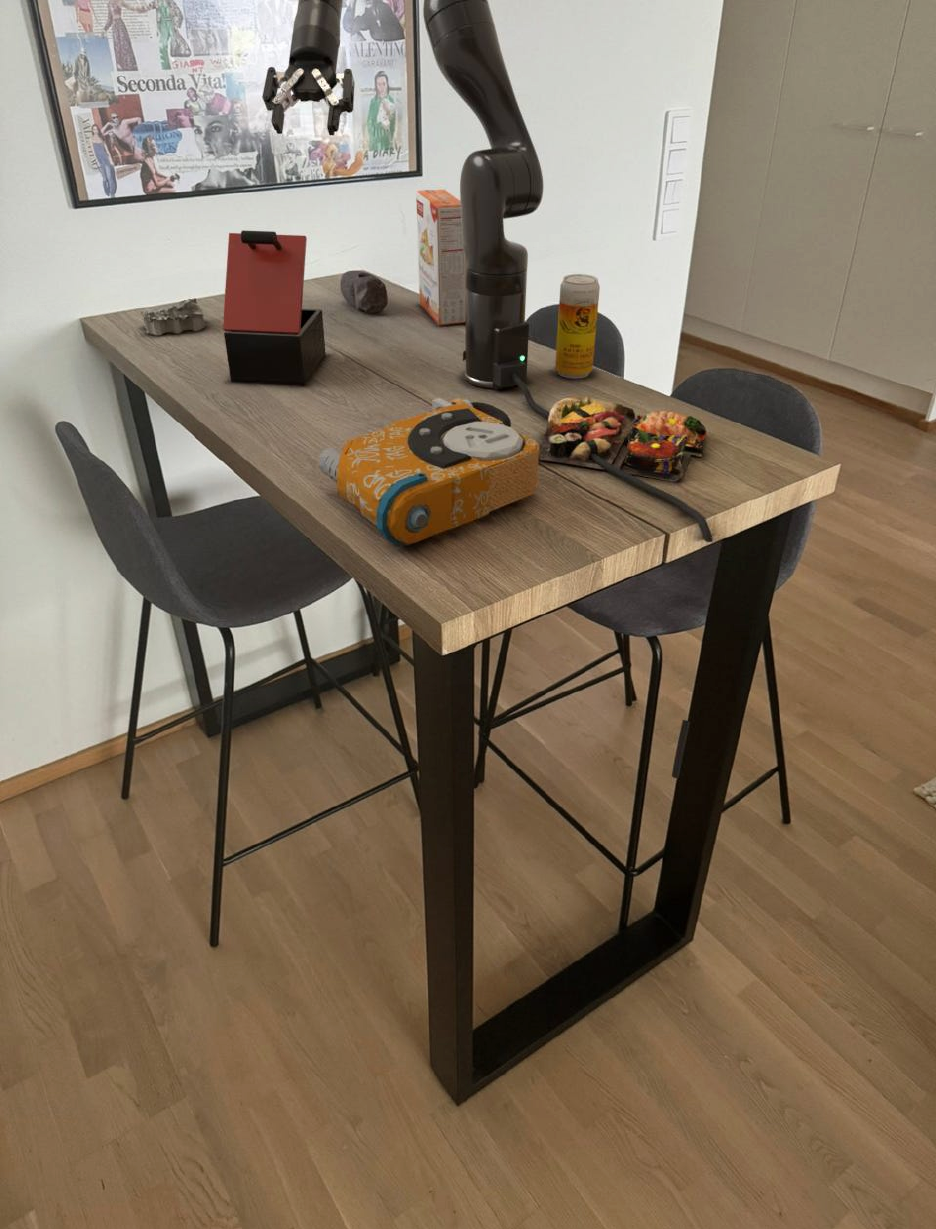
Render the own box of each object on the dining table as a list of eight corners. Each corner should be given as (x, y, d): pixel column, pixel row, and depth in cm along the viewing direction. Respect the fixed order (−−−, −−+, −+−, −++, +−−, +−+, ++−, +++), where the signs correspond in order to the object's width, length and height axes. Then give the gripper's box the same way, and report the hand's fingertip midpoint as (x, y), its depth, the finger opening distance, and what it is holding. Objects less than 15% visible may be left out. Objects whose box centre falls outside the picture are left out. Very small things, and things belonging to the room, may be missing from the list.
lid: (230, 235, 138) (218, 220, 132) (306, 237, 137) (297, 222, 131) (224, 331, 138) (211, 320, 132) (300, 334, 137) (290, 323, 131)
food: (526, 459, 120) (527, 434, 118) (562, 408, 134) (564, 385, 132) (691, 485, 114) (696, 460, 112) (710, 430, 128) (714, 406, 126)
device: (283, 427, 108) (475, 373, 123) (290, 489, 112) (474, 429, 128) (390, 497, 93) (593, 425, 109) (394, 564, 98) (587, 486, 114)
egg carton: (202, 319, 168) (198, 297, 166) (207, 331, 162) (204, 308, 160) (143, 325, 165) (138, 302, 163) (146, 337, 159) (141, 314, 157)
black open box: (257, 352, 153) (251, 306, 149) (325, 355, 152) (322, 309, 148) (230, 382, 142) (223, 333, 138) (304, 385, 141) (299, 336, 137)
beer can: (562, 381, 144) (569, 285, 135) (549, 368, 148) (555, 274, 140) (597, 377, 145) (606, 282, 136) (583, 365, 150) (591, 272, 141)
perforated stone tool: (333, 300, 179) (330, 263, 175) (357, 296, 181) (354, 260, 177) (366, 320, 168) (363, 282, 164) (390, 316, 171) (389, 278, 167)
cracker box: (417, 305, 176) (414, 190, 164) (446, 303, 178) (446, 188, 166) (436, 327, 166) (435, 205, 153) (468, 324, 167) (468, 203, 155)
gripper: (266, 22, 141) (253, 113, 139) (354, 23, 140) (343, 115, 138) (279, 59, 149) (267, 146, 146) (363, 60, 148) (353, 148, 145)
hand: (304, 131), depth 142 cm, fingers open, 8 cm apart
